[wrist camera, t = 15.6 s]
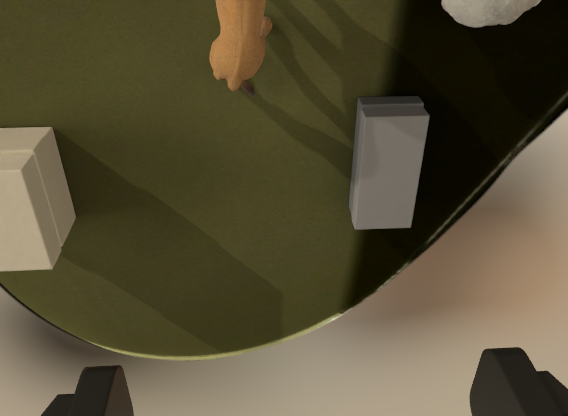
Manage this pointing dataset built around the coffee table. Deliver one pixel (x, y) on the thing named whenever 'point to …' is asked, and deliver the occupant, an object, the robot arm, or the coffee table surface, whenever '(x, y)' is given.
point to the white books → (44, 171)
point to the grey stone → (487, 11)
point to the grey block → (387, 161)
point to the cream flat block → (25, 217)
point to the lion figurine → (240, 42)
